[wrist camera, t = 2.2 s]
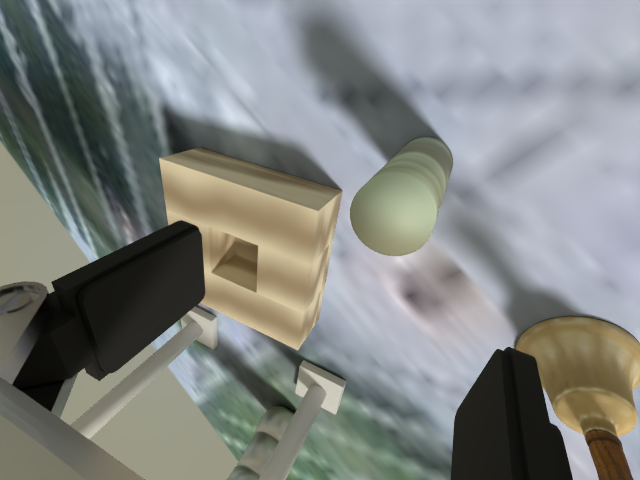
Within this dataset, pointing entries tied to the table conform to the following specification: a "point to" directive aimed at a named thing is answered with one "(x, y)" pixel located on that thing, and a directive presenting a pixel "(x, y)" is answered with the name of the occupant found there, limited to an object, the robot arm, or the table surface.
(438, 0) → the table surface
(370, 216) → the peg
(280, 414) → the plastic bottle
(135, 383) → the two-post wooden stand
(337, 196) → the socket block
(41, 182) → the table surface
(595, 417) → the hand bell
